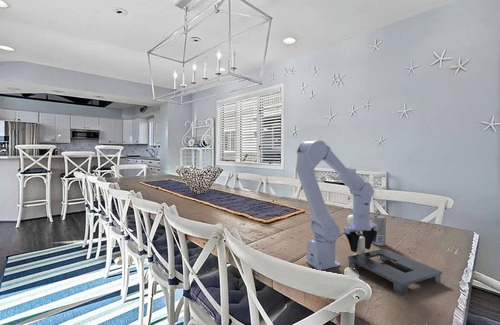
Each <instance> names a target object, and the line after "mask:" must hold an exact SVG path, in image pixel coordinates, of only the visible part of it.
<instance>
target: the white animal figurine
mask: <svg viewBox="0 0 500 325" xmlns="http://www.w3.org/2000/svg"><path fill="white" fill-rule="evenodd" d="M346 222H347V223H348V224H349V225H352V224H353V214H349V215H348V216H347V218H346ZM369 223H372V219H370V222H369ZM359 233H360V234H361V235H363V233H362V231H359Z"/></svg>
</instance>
